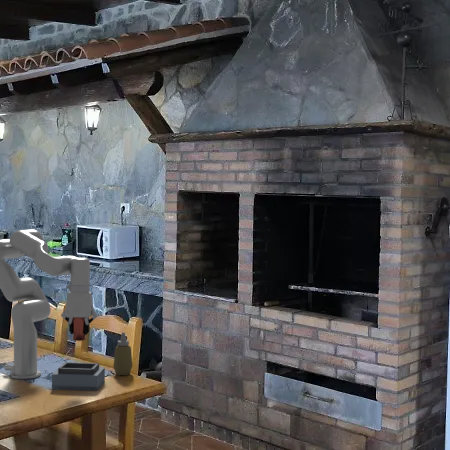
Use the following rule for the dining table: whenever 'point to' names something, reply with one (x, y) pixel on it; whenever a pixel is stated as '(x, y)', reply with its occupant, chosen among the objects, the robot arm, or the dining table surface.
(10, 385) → the dining table surface
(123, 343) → the squeeze bottle
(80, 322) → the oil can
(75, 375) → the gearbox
